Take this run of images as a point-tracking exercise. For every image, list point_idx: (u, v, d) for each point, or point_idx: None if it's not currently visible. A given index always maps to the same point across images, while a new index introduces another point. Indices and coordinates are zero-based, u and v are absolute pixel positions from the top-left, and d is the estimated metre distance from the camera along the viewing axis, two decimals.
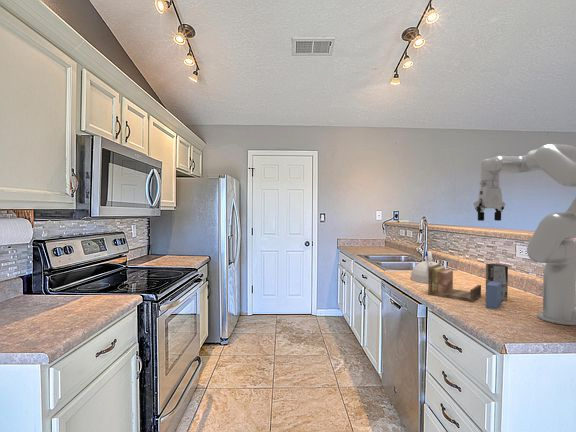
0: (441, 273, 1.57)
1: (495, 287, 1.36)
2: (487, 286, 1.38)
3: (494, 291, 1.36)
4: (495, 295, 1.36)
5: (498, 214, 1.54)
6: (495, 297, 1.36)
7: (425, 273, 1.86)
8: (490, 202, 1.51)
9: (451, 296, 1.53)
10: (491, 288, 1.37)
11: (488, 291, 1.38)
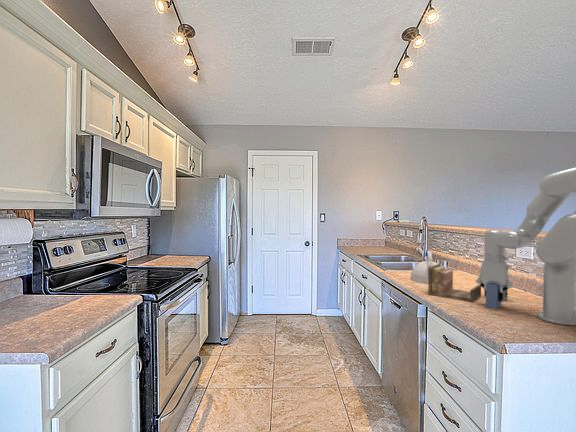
0: (441, 273, 1.57)
1: (495, 287, 1.36)
2: (487, 286, 1.38)
3: (494, 291, 1.36)
4: (495, 295, 1.36)
5: None
6: (495, 297, 1.36)
7: (425, 273, 1.86)
8: None
9: (451, 296, 1.53)
10: (491, 288, 1.37)
11: (488, 291, 1.38)
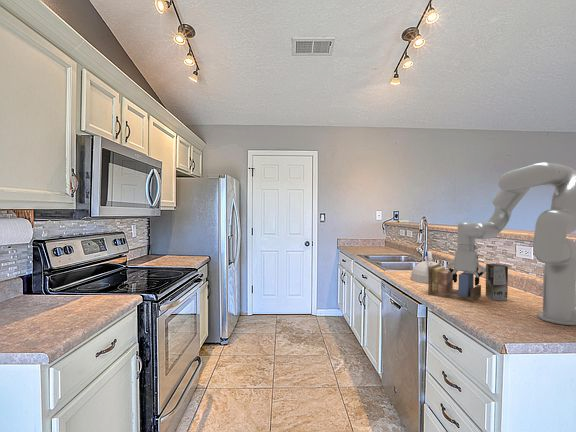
0: (441, 273, 1.57)
1: (466, 277, 1.50)
2: (459, 276, 1.52)
3: (465, 280, 1.50)
4: (466, 284, 1.50)
5: (456, 276, 1.58)
6: (466, 286, 1.50)
7: (425, 273, 1.86)
8: None
9: (451, 296, 1.53)
10: (463, 278, 1.51)
11: (460, 280, 1.52)
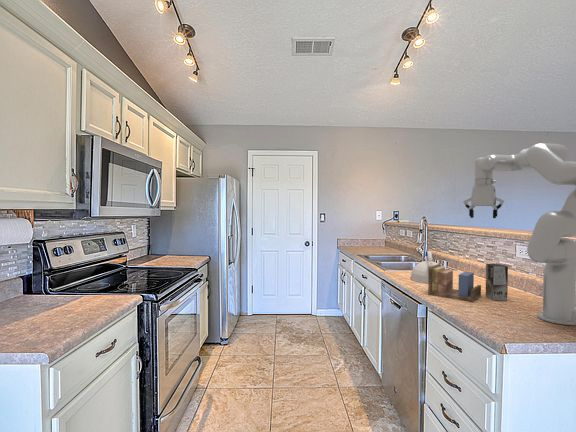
0: (441, 273, 1.57)
1: (466, 277, 1.50)
2: (459, 276, 1.52)
3: (465, 280, 1.50)
4: (466, 284, 1.50)
5: (473, 211, 1.61)
6: (466, 286, 1.50)
7: (425, 273, 1.86)
8: None
9: (451, 296, 1.53)
10: (463, 278, 1.51)
11: (460, 280, 1.52)
